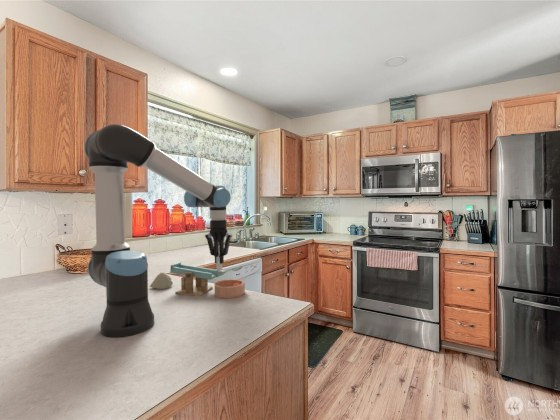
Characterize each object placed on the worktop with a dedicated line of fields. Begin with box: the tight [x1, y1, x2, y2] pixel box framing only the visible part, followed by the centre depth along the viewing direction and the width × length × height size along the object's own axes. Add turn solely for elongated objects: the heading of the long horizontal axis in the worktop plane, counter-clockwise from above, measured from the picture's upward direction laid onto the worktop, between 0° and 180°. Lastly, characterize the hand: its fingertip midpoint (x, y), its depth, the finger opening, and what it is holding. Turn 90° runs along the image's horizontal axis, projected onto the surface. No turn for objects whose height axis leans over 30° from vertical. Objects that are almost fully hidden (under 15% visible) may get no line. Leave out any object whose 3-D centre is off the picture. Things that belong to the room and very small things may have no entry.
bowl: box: [213, 278, 246, 299], centre depth 126 cm, size 13×13×4 cm
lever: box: [169, 261, 227, 281], centre depth 133 cm, size 14×20×3 cm
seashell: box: [149, 272, 174, 290], centre depth 138 cm, size 8×8×8 cm
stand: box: [175, 272, 214, 297], centre depth 130 cm, size 11×12×9 cm
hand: (219, 270), depth 135 cm, fingers closed
